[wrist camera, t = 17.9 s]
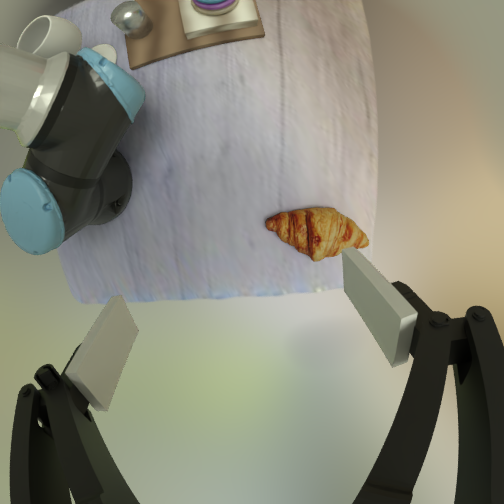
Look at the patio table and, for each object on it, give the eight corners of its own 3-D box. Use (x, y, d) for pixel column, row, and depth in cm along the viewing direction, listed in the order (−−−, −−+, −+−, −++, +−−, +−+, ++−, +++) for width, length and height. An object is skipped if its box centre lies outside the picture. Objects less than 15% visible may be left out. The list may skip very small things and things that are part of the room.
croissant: (361, 221, 54) (382, 213, 47) (358, 268, 53) (380, 267, 46) (264, 202, 51) (274, 189, 44) (258, 255, 50) (267, 251, 43)
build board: (132, 70, 37) (123, 64, 33) (124, 8, 31) (116, -1, 27) (264, 37, 36) (267, 27, 32) (246, -23, 30) (247, -35, 26)
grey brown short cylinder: (128, 43, 33) (111, 29, 26) (126, 23, 31) (109, 8, 24) (154, 33, 33) (141, 17, 26) (151, 14, 31) (138, -4, 24)
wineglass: (111, 82, 37) (45, 59, 18) (75, 85, 36) (4, 71, 17) (121, 42, 34) (66, 1, 15) (85, 46, 33) (22, 17, 14)
